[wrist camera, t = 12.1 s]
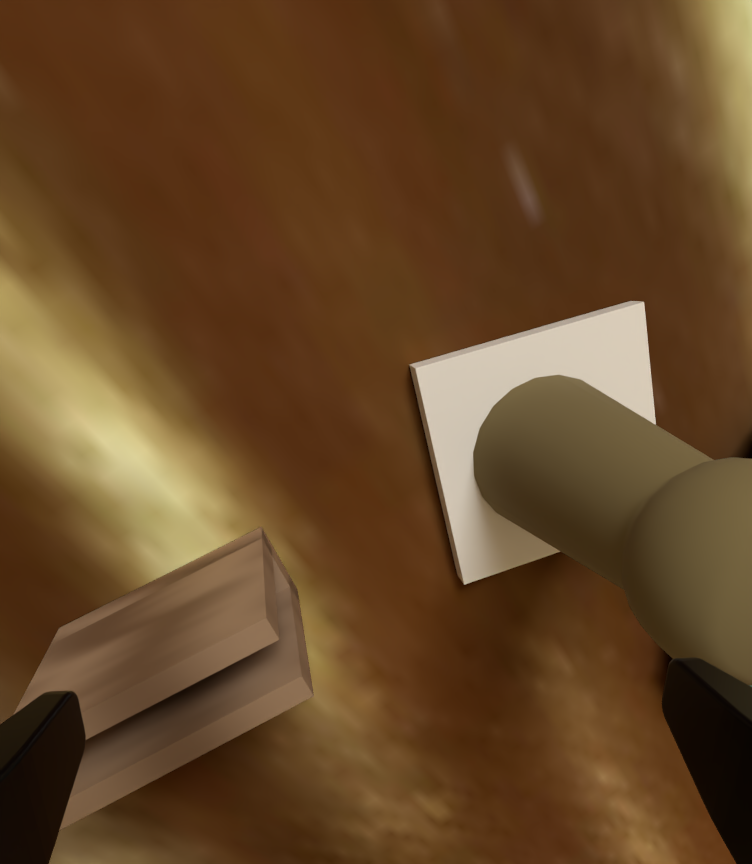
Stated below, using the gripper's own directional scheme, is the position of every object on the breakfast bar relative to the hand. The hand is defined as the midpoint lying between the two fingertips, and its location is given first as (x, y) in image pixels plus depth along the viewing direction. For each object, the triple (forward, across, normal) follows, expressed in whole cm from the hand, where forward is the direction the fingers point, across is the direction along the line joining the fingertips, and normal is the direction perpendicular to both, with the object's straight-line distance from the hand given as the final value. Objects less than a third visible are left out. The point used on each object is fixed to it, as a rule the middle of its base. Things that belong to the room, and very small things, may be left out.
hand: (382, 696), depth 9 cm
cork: (+14, -7, +1) cm, 15 cm away
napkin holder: (+12, +7, +6) cm, 15 cm away
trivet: (+14, -7, +1) cm, 16 cm away
